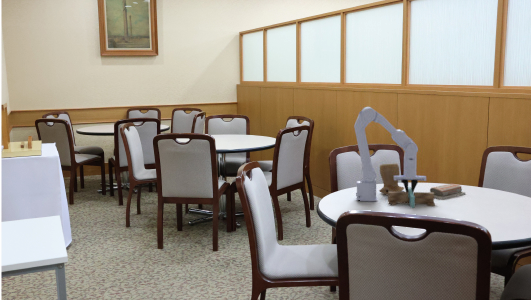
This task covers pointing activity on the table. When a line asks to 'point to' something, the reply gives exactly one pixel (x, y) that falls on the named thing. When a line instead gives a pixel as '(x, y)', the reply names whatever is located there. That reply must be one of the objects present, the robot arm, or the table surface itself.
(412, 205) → the slotted panel
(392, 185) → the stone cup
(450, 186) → the packaged product
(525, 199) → the table surface
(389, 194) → the notched board
